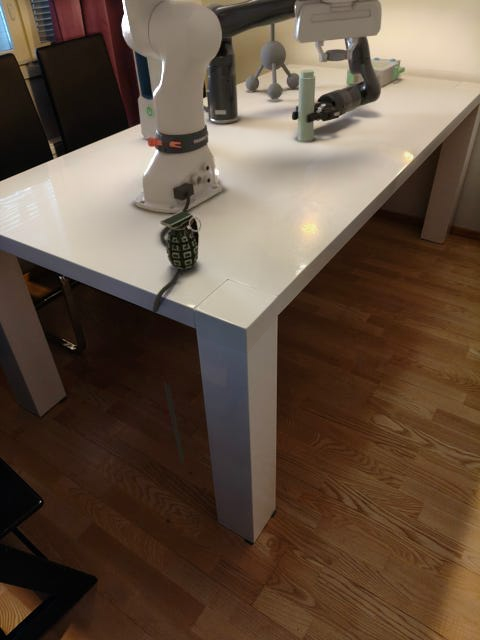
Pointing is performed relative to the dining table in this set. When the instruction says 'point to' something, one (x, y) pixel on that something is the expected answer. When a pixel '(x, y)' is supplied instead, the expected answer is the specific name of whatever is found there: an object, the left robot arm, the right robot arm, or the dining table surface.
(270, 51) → the molecular model
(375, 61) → the grey box with clips
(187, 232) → the grenade
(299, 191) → the dining table surface
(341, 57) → the lid
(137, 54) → the electronic device
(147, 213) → the dining table surface
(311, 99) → the mint green cylinder
